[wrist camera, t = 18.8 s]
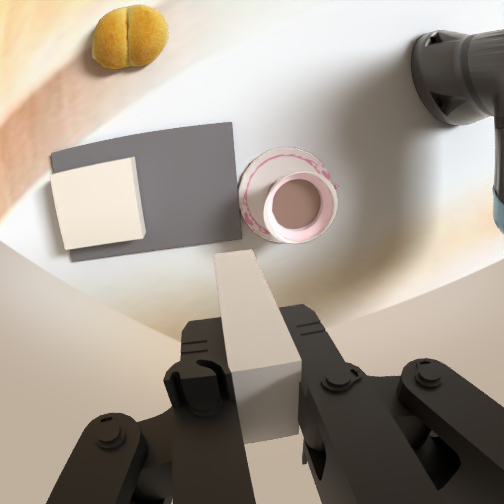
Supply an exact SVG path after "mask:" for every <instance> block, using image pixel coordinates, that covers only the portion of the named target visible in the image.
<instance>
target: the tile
mask: <svg viewBox="0 0 504 504" xmlns="http://www.w3.org/2000/svg"><path fill="white" fill-rule="evenodd" d="M50 180H51V186H52V192H53V197H54V203H55V208H56V213H57V217H58V222H59V226H60V231H61V235H62V239H63V243H64V247H65V250H69V249H75V248H82V247H88V246H95V245H101V244H108V243H115V242H122V241H129V240H136V239H143V238H144V235H145V233H146V228H145V223H144V217H143V211H142V204H141V198H140V191H139V184H138V177H137V170H136V162H135V156H134V157H129V158H123V159H118V160H112V161H107V162H102V163H97V164H93V165H88V166H83V167H79V168H74V169H70V170H66V171H61V172H57V173H54V174H52V175H50Z"/></svg>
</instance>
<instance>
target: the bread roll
mask: <svg viewBox="0 0 504 504" xmlns="http://www.w3.org/2000/svg"><path fill="white" fill-rule="evenodd" d="M168 38H169V29H168V24H167V22H166V20H165V18H164V17H163V15H162V14H161V13H160V12H158V11H157V10H156V9H154V8H151V7H148V6H145V5H133V6H128V7H123V8H118V9H115V10H113V11H111V12H109V13H107V14H106V15H105V16H103V17H102V18H101V19H100V20H99V22H98V24H97V26H96V29H95V31H94V34H93V40H92V57H93V59H95V60H96V61H97V62H98V63H99V64H100V65H101V66H103V67H105V68H110V69H120V68H125V67H129V66H144V65H147V64H149V63H151V62H152V61H153V60H155V59H156V57H157V56H158V55H159V54H160V53H161V52H162V50H163V48H164V47H165V45H166V43H167V41H168Z"/></svg>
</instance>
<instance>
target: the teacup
mask: <svg viewBox="0 0 504 504" xmlns="http://www.w3.org/2000/svg"><path fill="white" fill-rule="evenodd" d="M281 177H282V178H281ZM278 178H281V179H279V180H278V181H277V182H276V183H275V184H274V185H273V186H272V187H271V189H270V191H269V193H268V190H269V187H270V186H271V184H272V183H273V182H274V181H275V180H277V179H278ZM338 186H339V185H335V186H334V183H331V180H330V176H329V173H328V172H327V170H326V169H325V167H324V165H323V164H322V162H321V161H319V160H318V159H317V158H316V157H314V156H313V155H312V154H311V153H309V152H306V151H304V150H301V149H298V148H288V147H279V148H276V149H273V150H270V151H267V152H265V153H263V154H262V155H260V156H259V157H258V158H256V159H255V160H254V161H252V163H251V164H250V165H249V167H248V168H247V170H246V171H245V172H244V174H243V176H242V179H241V182H240V185H239V189H238V201H239V208H240V211H241V214H242V217H243V220H244V221H245V222H246V223H247V225H248V226H249V227H250V229H251V230H252V231H253V232H254V233H256V234H257V235H259V236H261V237H262V238H264V239H265V240H269V241H273V242H277V243H290V244H301V243H305V242H309V241H311V240H314V239H315V238H317V237H319V236H320V235H321V234H323V233H324V232H325V231H326V230H327V229H328V228H329V226H330V225H331V223H332V222H333V220H334V218H335V215H336V212H337V208H338V197H337V193H336V190H335V189H336V188H337V187H338Z"/></svg>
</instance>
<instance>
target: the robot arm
mask: <svg viewBox="0 0 504 504" xmlns="http://www.w3.org/2000/svg"><path fill="white" fill-rule="evenodd" d="M411 67H412V75H413V79H414V83H415V86H416V89H417V91H418V94H419V96H420V98H421V100H422V101H423V103H424V105H425V106H426V107H427V109H428V110H429V111H430V112H431V113H432V114H433V115H434V116H435V117H436V118H437V119H439V120H440V121H442V122H444V123H447V124H451V125H468V124H471V123H474V122H476V121H479V120H481V119H484V118H486V117H489V116H494V122H495V177H494V185H493V195H494V205H493V217H494V221H495V223H496V225H497V227H498V228H499V229H500V231H501V232H502V233H503V234H504V30H497V31H491V32H485V33H480V34H475V35H467V34H462V33H457V32H452V31H446V30H438V31H433V32H430V33H427V34H424V35H423V36H421V37H420V38H419V39H418V41H417V42H416V44H415V46H414V49H413V52H412V59H411ZM213 256H214V264H215V272H216V280H217V288H218V296H219V304H220V311H221V317H219V318H211V319H203V320H195V321H189V322H188V323H187V325H186V326H185V328H184V329H183V331H182V338H181V360H180V361H179V362H177V363H175V364H174V365H173V366H172V367H171V368H170V369H169V370H168V371H167V372H166V374H165V377H164V380H163V381H164V384H165V387H166V390H167V393H168V396H169V398H170V401H171V404H172V407H171V408H170V409H168V410H167V411H165V412H164V413H163V414H160V415H158V416H156V417H153V418H150V419H147V420H143V421H140V422H136V421H135V420H134V419H133V418H132V417H130V416H128V415H125V414H122V413H108V414H104V415H100V416H99V417H97V418H95V419H94V420H92V421H91V422H90V423H89V424H88V426H87V427H86V428H85V429H84V431H83V433H82V435H81V436H80V438H79V440H78V442H77V444H76V446H75V448H74V449H73V451H72V453H71V455H70V457H69V459H68V461H67V463H66V465H65V467H64V469H63V471H62V472H61V474H60V476H59V478H58V480H57V482H56V484H55V486H54V488H53V490H52V492H51V494H50V497H49V498H48V501H47V503H46V504H171V502H172V498H173V504H256V502H255V497H254V493H253V487H252V483H251V478H250V473H249V468H248V463H247V457H246V452H245V447H244V444H246V443H247V444H248V443H254V442H260V441H266V440H272V439H277V438H282V437H287V436H292V435H297V434H299V425H300V428H301V430H302V433H303V436H304V442H303V453H302V464H306V463H307V461H308V464H309V467H310V470H311V473H312V476H313V479H314V481H315V485H316V488H317V490H318V493H319V496H320V499H321V502H322V504H504V407H502V406H501V405H500V404H498V403H497V402H496V401H494V400H493V399H492V398H490V397H489V396H488V395H486V394H485V393H484V392H482V391H481V390H479V389H478V388H477V387H475V386H474V385H473V384H471V383H470V382H469V381H467V380H466V379H464V378H463V377H462V376H460V375H459V374H457V373H456V372H455V371H453V370H452V369H451V368H449V367H448V366H447V365H445V364H443V363H441V362H439V361H437V360H433V359H428V358H425V359H416V360H414V361H411V362H409V363H408V364H407V365H406V366H405V367H404V368H403V371H402V374H401V376H385V377H375V376H367V375H366V374H365V373H364V372H363V371H362V370H361V369H360V368H359V367H357V366H355V365H353V364H351V363H347V362H345V361H344V359H343V358H342V356H341V354H340V353H339V351H338V349H337V348H336V346H335V344H334V343H333V341H332V339H331V338H330V336H329V335H328V333H327V332H326V331H325V328H324V326H323V325H322V323H320V320H319V318H318V317H317V315H316V313H315V312H314V311H313V310H311V309H310V308H308V307H307V306H305V305H303V304H300V305H294V306H287V307H281V308H278V306H277V304H276V301H275V299H274V297H273V295H272V292H271V290H270V288H269V286H268V283H267V281H266V279H265V277H264V275H263V272H262V270H261V268H260V266H259V263H258V261H257V259H256V257H255V254H254V252H253V250H252V249H249V250H241V251H233V252H225V253H217V254H213Z"/></svg>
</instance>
